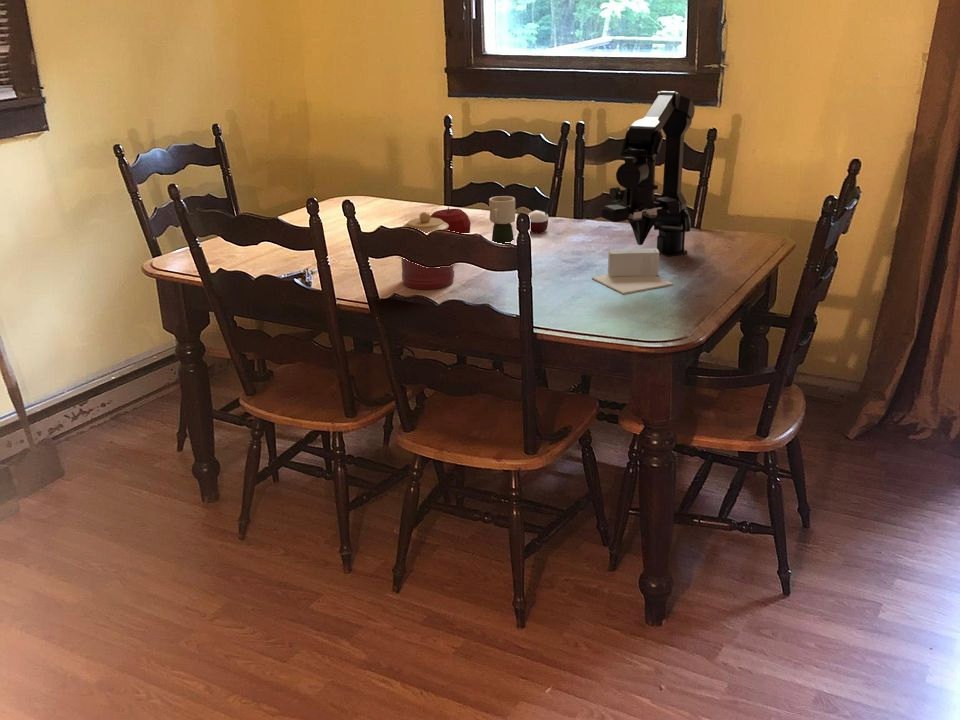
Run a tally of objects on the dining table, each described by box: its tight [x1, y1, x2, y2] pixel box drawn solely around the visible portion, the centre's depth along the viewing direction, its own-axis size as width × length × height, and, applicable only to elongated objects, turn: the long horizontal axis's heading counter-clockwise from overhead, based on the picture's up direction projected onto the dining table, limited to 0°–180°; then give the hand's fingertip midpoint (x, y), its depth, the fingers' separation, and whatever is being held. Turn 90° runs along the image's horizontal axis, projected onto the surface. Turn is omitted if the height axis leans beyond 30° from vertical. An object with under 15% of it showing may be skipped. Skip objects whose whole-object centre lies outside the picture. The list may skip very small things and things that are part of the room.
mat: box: [591, 273, 674, 295], centre depth 226 cm, size 14×14×1 cm
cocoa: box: [528, 189, 555, 234], centre depth 270 cm, size 10×6×12 cm, turn 62°
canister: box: [400, 211, 455, 290], centre depth 228 cm, size 13×13×18 cm
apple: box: [430, 206, 472, 234], centre depth 250 cm, size 12×12×13 cm
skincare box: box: [607, 247, 660, 277], centre depth 230 cm, size 6×4×12 cm
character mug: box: [488, 195, 516, 245], centre depth 258 cm, size 11×7×13 cm, turn 156°
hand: (640, 244), depth 224 cm, fingers closed
